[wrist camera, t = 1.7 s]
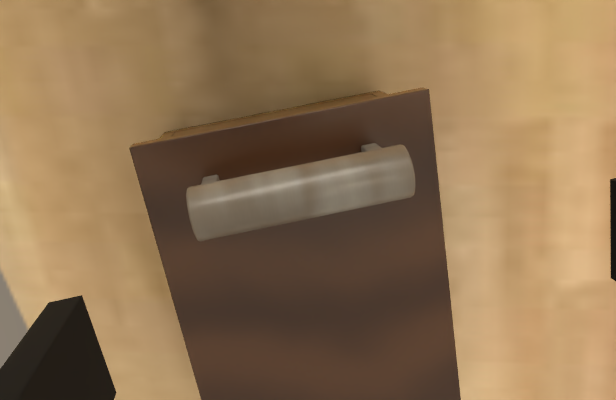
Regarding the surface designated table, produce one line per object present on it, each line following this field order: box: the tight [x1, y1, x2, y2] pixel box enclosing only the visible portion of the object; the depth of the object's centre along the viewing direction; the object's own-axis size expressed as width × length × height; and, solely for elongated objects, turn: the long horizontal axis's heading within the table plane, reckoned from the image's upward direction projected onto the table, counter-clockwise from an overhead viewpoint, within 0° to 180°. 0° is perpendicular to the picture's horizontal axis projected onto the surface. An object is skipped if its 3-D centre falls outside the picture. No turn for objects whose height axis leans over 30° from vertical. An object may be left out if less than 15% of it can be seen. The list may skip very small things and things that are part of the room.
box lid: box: [129, 88, 461, 400], centre depth 23 cm, size 18×13×6 cm
